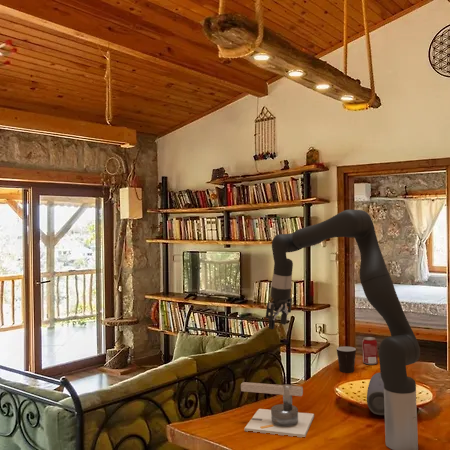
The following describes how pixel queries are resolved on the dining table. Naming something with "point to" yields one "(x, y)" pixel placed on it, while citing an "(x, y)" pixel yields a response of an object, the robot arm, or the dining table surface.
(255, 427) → the board
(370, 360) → the soda can
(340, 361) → the coffee mug
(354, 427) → the dining table surface
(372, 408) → the bluetooth speaker
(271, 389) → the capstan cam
